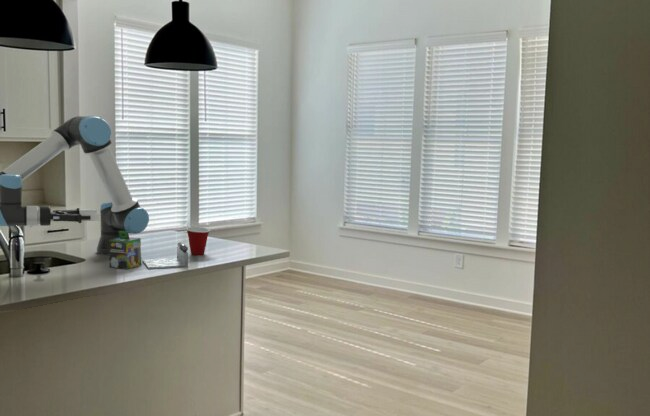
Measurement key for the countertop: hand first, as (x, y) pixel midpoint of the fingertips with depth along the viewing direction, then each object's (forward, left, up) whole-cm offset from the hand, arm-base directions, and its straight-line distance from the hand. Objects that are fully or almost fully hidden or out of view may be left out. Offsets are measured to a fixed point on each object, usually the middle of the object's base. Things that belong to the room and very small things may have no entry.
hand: (98, 215), depth 243 cm
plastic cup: (-18, +44, -22) cm, 52 cm away
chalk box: (0, +10, -22) cm, 24 cm away
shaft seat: (0, +26, -21) cm, 34 cm away
